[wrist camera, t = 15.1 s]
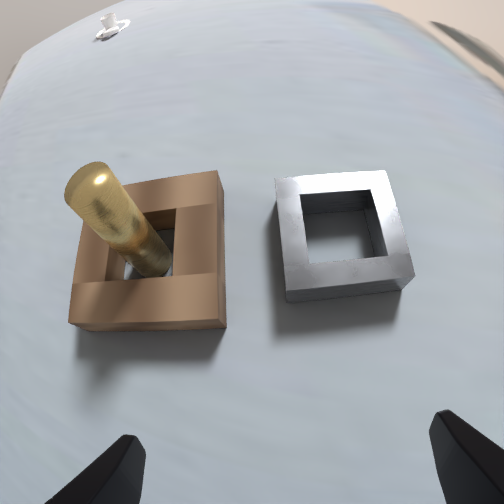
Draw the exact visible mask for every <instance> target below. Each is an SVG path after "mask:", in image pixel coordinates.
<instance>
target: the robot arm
mask: <svg viewBox="0 0 504 504" xmlns="http://www.w3.org/2000/svg"><path fill="white" fill-rule="evenodd" d="M429 436H430V440H431V445H432V449H433V454H434V459H435V464H436V469H437V474H438V477H439V481H440V484H441V487H442V490H443V493H444V497H445V500H446V503H447V504H504V449H502V448H501V447H499V446H498V445H497V444H495V443H494V442H493V441H491V440H490V439H488V438H487V437H486V436H484V435H483V434H482V433H480V432H479V431H478V430H476V429H475V428H473V427H472V426H471V425H469V424H468V423H467V422H465V421H464V420H463V419H461V418H460V417H458V416H457V415H456V414H454V413H453V412H452V411H450V410H443V411H439V412H437V413H436V414H435V416H434V418H433V421H432V423H431V426H430V429H429ZM145 459H146V452H145V449H144V448H143V446H142V444H141V443H140V441H139V439H138V438H137V437H136V436H134V435H127V434H126V435H123V436H121V437H120V438H119V439H118V440H117V441H116V442H115V443H113V444H112V445H111V446H110V447H109V448H108V449H107V450H106V451H105V452H104V453H102V454H101V455H100V456H99V457H98V458H97V459H96V460H95V461H93V462H92V463H91V464H90V465H89V466H88V467H87V468H86V469H84V470H83V471H82V472H81V473H80V474H79V475H78V476H76V477H75V478H74V479H73V480H72V481H71V482H69V483H68V484H67V485H66V486H65V487H64V488H62V489H61V490H60V491H59V492H58V493H57V494H55V495H54V496H53V497H52V498H51V499H49V500H48V501H47V502H46V503H45V504H139V502H140V498H141V492H142V484H143V475H144V467H145Z"/></svg>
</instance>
